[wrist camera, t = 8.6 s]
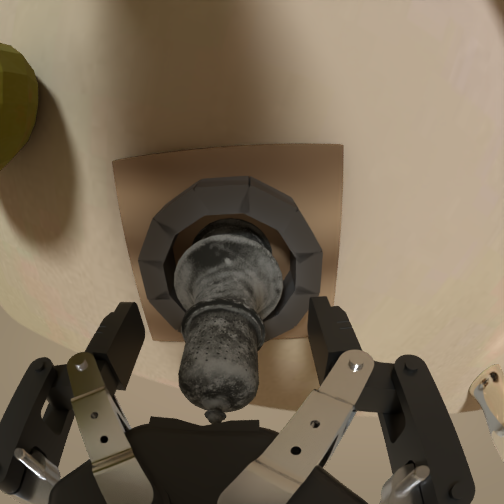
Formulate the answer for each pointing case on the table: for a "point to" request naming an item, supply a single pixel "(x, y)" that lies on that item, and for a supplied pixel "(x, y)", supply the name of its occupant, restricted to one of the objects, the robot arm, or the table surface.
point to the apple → (15, 102)
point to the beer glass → (492, 402)
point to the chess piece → (225, 313)
